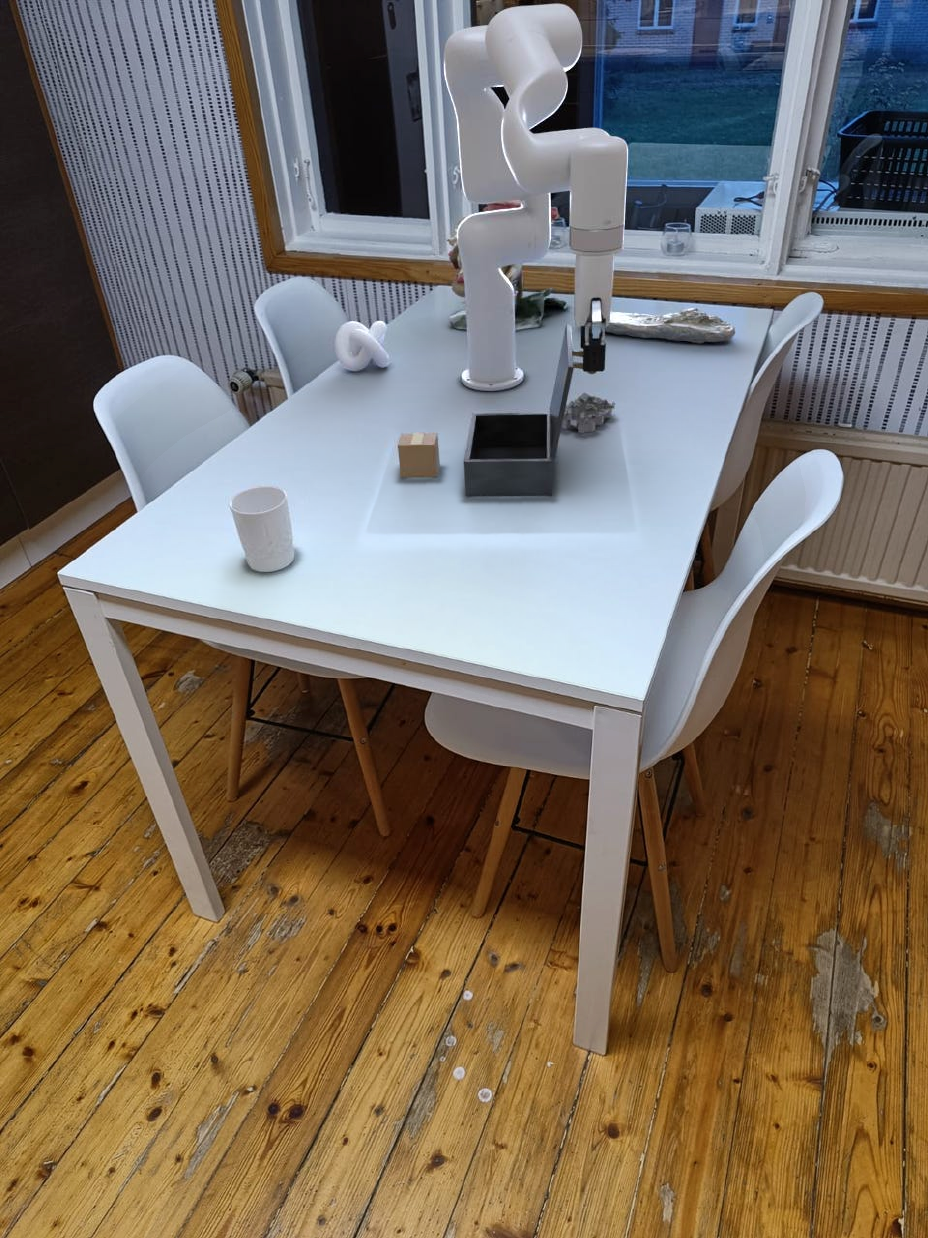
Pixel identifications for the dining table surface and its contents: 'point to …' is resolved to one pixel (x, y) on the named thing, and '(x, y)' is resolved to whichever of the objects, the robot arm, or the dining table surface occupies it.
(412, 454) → the package
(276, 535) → the white cup
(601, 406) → the grey rock
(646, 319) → the long grey stone
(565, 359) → the lid
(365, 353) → the white knot sculpture
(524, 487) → the chest
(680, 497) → the dining table surface
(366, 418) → the dining table surface
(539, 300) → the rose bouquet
